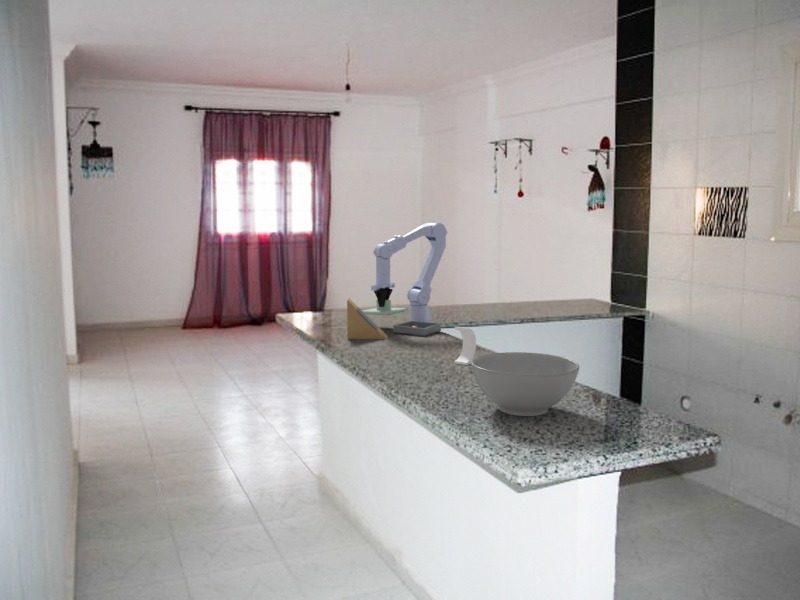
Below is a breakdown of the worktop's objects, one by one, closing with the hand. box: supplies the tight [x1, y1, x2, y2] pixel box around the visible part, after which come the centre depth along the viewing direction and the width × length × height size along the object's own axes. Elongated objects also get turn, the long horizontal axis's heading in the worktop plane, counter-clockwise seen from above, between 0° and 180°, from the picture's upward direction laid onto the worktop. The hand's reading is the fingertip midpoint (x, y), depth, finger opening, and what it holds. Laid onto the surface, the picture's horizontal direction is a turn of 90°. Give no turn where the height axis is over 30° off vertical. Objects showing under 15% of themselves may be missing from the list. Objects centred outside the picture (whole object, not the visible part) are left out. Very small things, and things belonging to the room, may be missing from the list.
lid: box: [362, 299, 408, 316], centre depth 308 cm, size 14×14×5 cm
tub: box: [392, 320, 442, 337], centre depth 301 cm, size 14×14×3 cm
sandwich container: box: [346, 298, 388, 340], centre depth 289 cm, size 9×15×15 cm, turn 90°
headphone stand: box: [453, 326, 477, 366], centre depth 243 cm, size 5×6×12 cm
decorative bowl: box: [470, 351, 580, 417], centre depth 188 cm, size 27×27×12 cm
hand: (383, 306), depth 308 cm, fingers closed on lid
